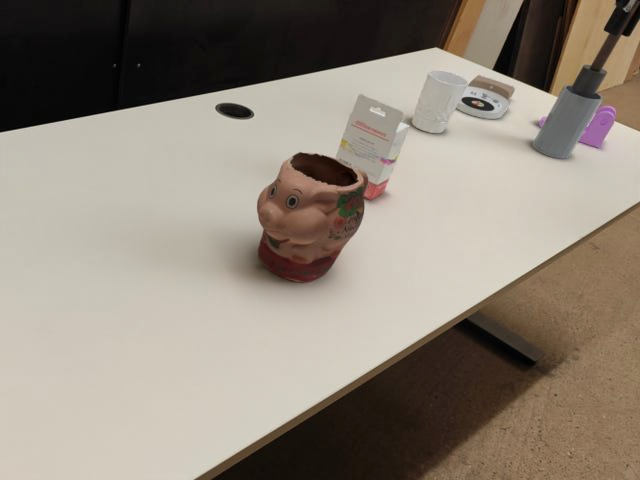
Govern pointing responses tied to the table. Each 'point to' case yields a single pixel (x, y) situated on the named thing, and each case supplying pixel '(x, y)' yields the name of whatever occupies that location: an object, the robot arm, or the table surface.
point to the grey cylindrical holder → (566, 122)
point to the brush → (599, 62)
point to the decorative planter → (309, 215)
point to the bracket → (596, 126)
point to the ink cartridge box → (373, 142)
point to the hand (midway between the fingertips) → (616, 32)
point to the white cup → (438, 100)
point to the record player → (486, 98)
